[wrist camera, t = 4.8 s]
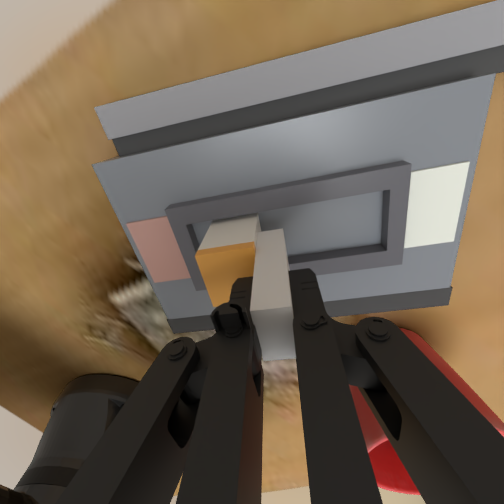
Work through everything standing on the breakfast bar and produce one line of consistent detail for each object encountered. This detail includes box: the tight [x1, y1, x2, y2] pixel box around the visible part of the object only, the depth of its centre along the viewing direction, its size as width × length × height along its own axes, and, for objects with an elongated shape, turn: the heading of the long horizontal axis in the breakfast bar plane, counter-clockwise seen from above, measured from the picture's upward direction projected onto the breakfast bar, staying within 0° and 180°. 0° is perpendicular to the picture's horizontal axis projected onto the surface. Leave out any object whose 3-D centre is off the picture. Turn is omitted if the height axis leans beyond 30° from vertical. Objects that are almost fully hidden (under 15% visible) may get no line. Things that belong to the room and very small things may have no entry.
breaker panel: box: [92, 73, 496, 319], centre depth 18 cm, size 22×13×4 cm, turn 102°
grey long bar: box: [94, 0, 504, 157], centre depth 15 cm, size 24×3×2 cm, turn 102°
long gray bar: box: [167, 286, 452, 334], centre depth 22 cm, size 24×3×2 cm, turn 102°
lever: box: [195, 213, 262, 307], centre depth 15 cm, size 3×3×5 cm
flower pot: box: [349, 328, 504, 495], centre depth 22 cm, size 11×11×10 cm
